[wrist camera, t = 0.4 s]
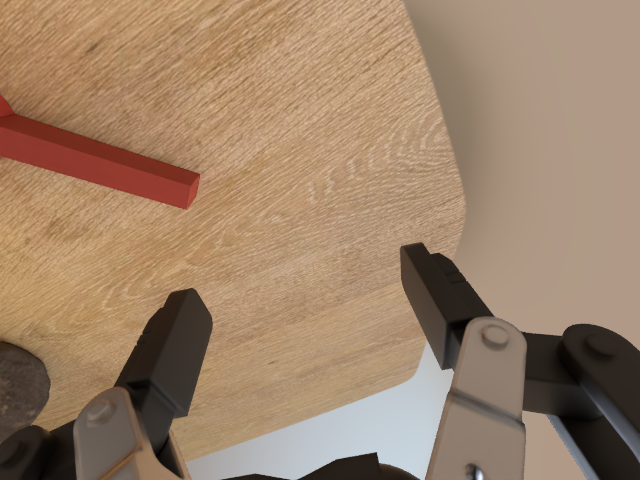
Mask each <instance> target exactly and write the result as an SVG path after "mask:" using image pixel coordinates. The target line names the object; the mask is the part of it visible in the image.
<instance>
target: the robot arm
mask: <svg viewBox="0 0 640 480" xmlns="http://www.w3.org/2000/svg"><path fill="white" fill-rule="evenodd" d="M400 259H401V279H402V284H403V288H404V291H405V293H406V295H407V297H408V300H409V302H410V304H411V306H412V308H413V310H414V312H415V314H416V317H417V319H418V321H419V323H420V325H421V327H422V329H423V331H424V334H425V336H426V338H427V340H428V342H429V344H430V346H431V348H432V351H433V353H434V355H435V357H436V359H437V361H438V363H439V365H440V368H441V369H442V370H445V369H451V368H452V369H453V371H454V376H453V380H452V384H451V387H450V391H449V392H448V394H447V397H446V401H445V405H444V408H443V412H442V416H441V420H440V424H439V428H438V431H437V435H436V439H435V443H434V447H433V451H432V454H431V458H430V462H429V466H428V470H427V474H426V477H425V480H523V479H524V462H525V445H526V429H525V424H524V423H522V410H524V411H530V412H536V413H543V414H546V416H547V417H548V419H549V420H550V422H551V423H552V425H553V427H554V428H555V430H556V431H557V433H558V434H559V436H560V438H561V439H562V441H563V442H564V444H565V445H566V447H567V448H568V450H569V452H570V453H571V455H572V456H573V458H574V459H575V461H576V463H577V464H578V466H579V467H580V469H581V470H582V472H583V474H584V475H585V477H586V478H587V480H640V351H639V350H638V349H637V348H635V347H634V346H633V345H632V344H631V343H630V342H629V341H628V340H626V339H625V338H623V337H622V336H620V335H619V334H617V333H615V332H613V331H611V330H609V329H606V328H603V327H600V326H596V325H591V324H576V325H572V326H570V327H568V328H567V329H566V330H565V331H564V333H563V335H562V336H555V335H544V334H532V333H526V332H522V331H519V330H518V329H517V328H516V327H515V326H514V325H512V324H510V323H509V322H507V321H505V320H502V319H499V318H496V317H495V316H494V315H493V314H492V313H491V311H490V310H489V309H488V307H487V306H486V305H485V304H484V302H483V301H482V300H481V299H480V297H479V296H478V294H477V293H476V292H475V291H474V289H473V288H472V287H471V285H470V284H469V283H468V281H466V279H465V277H464V276H463V275H462V273H460V272H459V270H458V268H457V267H456V266H455V264H454V263H453V262H452V260H450V259H449V258H447V257H445V256H444V255H442V254H440V253H435V254H430V253H429V251H428V250H427V249H426V247H425V246H424V244H423V243H422V242H419V243H414V244H409V245H404V246H401V248H400ZM212 327H213V322H212V317H211V314H210V312H209V311H208V309H207V308H206V306H205V304H204V303H203V301H202V299H201V298H200V296H199V295H198V293H197V291H196V290H195V289H193V288H189V289H185V290H180V291H175V292H172V293H170V295H169V296H168V298H167V300H166V302H165V304H164V306H163V308H160V309H159V310H158V311H157V312H156V313H155V314H154V315H153V316H152V317H151V318H150V319H149V321H148V323H147V325H146V327H145V328H144V330H143V332H142V333H143V335H141V336H140V338H139V340H138V342H137V345H136V346H135V347H134V349H133V351H132V353H131V355H130V357H129V358H128V360H127V362H126V364H125V366H124V368H123V370H122V372H121V373H120V375H119V377H118V379H117V381H116V383H115V385H114V386H113V387H112V388H109V389H107V390H105V391H103V392H101V393H100V394H98V395H97V396H96V397H94V398H93V399H92V400H91V401H90V402H89V403H88V404H87V405H86V406H85V407H84V408H83V410H82V411H81V412H80V414H79V415H78V417H77V419H75V420H73V421H71V422H69V423H67V424H65V425H63V426H61V427H58V428H56V429H54V430H52V431H50V432H48V431H47V430H45V429H43V428H42V427H40V426H37V425H32V426H28V427H25V428H22V429H20V430H19V431H17V432H15V433H14V434H12V435H11V436H9V437H8V438H7V439H5V440H4V441H3V442H2V443H1V444H0V480H192V479H191V477H190V474H189V472H188V469H187V467H186V464H185V461H184V459H183V456H182V454H181V451H180V448H179V446H178V443H177V441H176V438H175V435H174V433H173V431H172V430H171V429H170V426H171V423H172V420H173V419H174V418H180V417H185V416H187V415H188V412H189V408H190V405H191V401H192V398H193V394H194V391H195V387H196V384H197V380H198V377H199V373H200V370H201V366H202V363H203V360H204V356H205V353H206V349H207V346H208V342H209V339H210V335H211V332H212ZM222 480H289V479H283V478H277V477H271V476H266V475H260V474H251V475H245V476H240V477H234V478H228V479H222ZM298 480H420V479H418V478H417V477H415V476H414V475H412V474H410V473H409V472H406V471H404V470H402V469H400V468H397V467H394V466H391V465H387V464H381V463H379V461H378V456H377V452H376V453H370V454H364V455H359V456H354V457H347V458H342V459H337V460H335V461H333V462H331V463H329V464H327V465H325V466H323V467H321V468H319V469H317V470H315V471H314V472H312V473H310V474H308V475H306V476H304V477H302V478H300V479H298Z"/></svg>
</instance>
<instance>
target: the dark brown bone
mask: <svg viewBox="0 0 640 480" xmlns="http://www.w3.org/2000/svg"><path fill="white" fill-rule="evenodd" d="M50 385H51V384H50V379H49V376H48V374H47V370H46V368H45V365H44V364H43V363H42V362H41V361H40V360H39V359H38V358H36V357H35V356H33V355H32V354H30V353H29V352H27V351H25V350H23V349H20V348H18V347H16V346H13V345H10V344H6V343H0V443H1V442H3V441H4V440H5V439H7V438H8V437H9V436H11V435H12V434H14V433H15V432H17V431H19V430H20V429H22V428H25V427H28V426H30V425H31V424H32V423H33V421H34V420H35V419H36V417H37V416H38V415H39V413H40V412H41V411H42V409H43V408H44V406H45V405H46V403H47V401H48V399H49V390H50Z"/></svg>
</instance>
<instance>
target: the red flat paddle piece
mask: <svg viewBox="0 0 640 480" xmlns="http://www.w3.org/2000/svg"><path fill="white" fill-rule="evenodd" d="M0 157H6V158H10V159H13V160H17V161H20V162H24V163H27V164H30V165H34V166H37V167H41V168H44V169H48V170H51V171H55V172H58V173H62V174H65V175H68V176H72V177H75V178H79V179H82V180H86V181H89V182H93V183H96V184H100V185H103V186H106V187H110V188H113V189H117V190H120V191H124V192H127V193H131V194H134V195H138V196H141V197H145V198H148V199H151V200H155V201H158V202H162V203H165V204H169V205H172V206H176V207H179V208H183V209H186V210H187V209H188V207H189V206H190V204H191V203H192V202H193V200H194V199H195V197H196V194H197V189H198V183H199V178H200V174H197V173H194V172H191V171H188V170H185V169H182V168H179V167H176V166H173V165H169V164H166V163H163V162H160V161H157V160H154V159H151V158H148V157H145V156H142V155H139V154H136V153H133V152H129V151H126V150H123V149H120V148H117V147H114V146H111V145H108V144H105V143H102V142H99V141H96V140H93V139H90V138H86V137H83V136H80V135H77V134H74V133H71V132H68V131H65V130H62V129H59V128H56V127H53V126H50V125H46V124H43V123H40V122H37V121H34V120H31V119H28V118H25V117H22V116H19V115H16V114H14V112H13V110H12V109H11V107H10V106H9V104H8V103H7V102H6V100H5V99H4V98H3V97H2V96H1V95H0Z"/></svg>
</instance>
